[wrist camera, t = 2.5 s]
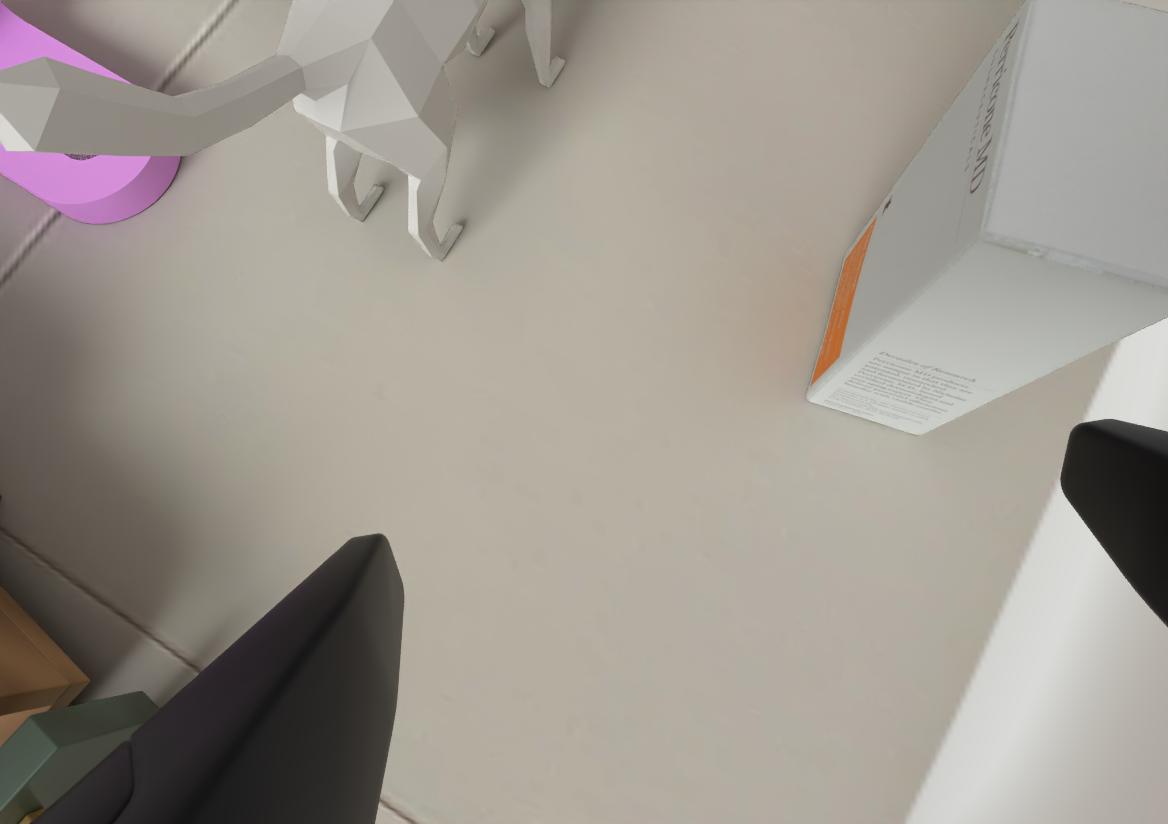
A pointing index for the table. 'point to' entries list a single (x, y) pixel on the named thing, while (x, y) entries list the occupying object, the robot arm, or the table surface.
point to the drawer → (50, 718)
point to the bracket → (66, 183)
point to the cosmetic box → (1013, 225)
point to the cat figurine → (292, 97)
